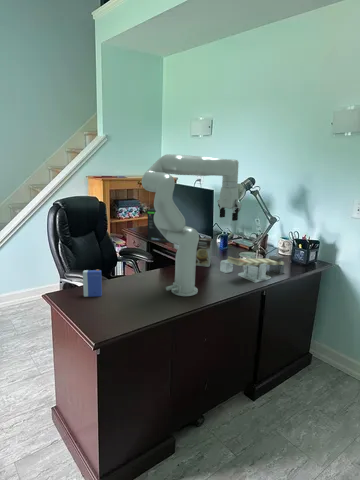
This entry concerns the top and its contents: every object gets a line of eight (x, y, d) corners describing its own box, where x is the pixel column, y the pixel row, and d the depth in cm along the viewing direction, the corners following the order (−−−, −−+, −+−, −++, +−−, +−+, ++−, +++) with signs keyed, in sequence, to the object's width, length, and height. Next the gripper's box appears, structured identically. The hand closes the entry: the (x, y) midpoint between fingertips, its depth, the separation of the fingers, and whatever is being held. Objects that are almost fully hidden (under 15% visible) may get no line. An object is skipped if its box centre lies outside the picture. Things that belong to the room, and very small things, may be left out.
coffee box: (194, 265, 201) (195, 239, 198) (196, 262, 207) (197, 236, 204) (209, 267, 199) (210, 240, 195) (210, 264, 205) (212, 238, 202)
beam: (237, 267, 170) (239, 258, 169) (226, 262, 176) (228, 254, 176) (283, 266, 191) (285, 258, 190) (272, 262, 197) (273, 255, 196)
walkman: (102, 294, 156) (101, 269, 153) (101, 296, 153) (100, 271, 150) (84, 294, 155) (83, 269, 152) (83, 296, 152) (82, 271, 149)
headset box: (146, 240, 258) (147, 207, 252) (152, 237, 269) (153, 205, 263) (175, 243, 252) (175, 209, 246) (179, 240, 263) (180, 207, 257)
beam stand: (255, 282, 176) (256, 266, 174) (237, 275, 187) (238, 259, 184) (287, 274, 190) (288, 259, 188) (269, 268, 201) (270, 253, 198)
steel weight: (225, 273, 190) (226, 263, 188) (219, 270, 194) (220, 260, 192) (232, 271, 192) (233, 261, 191) (226, 269, 196) (227, 259, 195)
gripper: (213, 183, 172) (212, 216, 177) (235, 187, 158) (234, 222, 163) (224, 183, 176) (223, 215, 181) (247, 186, 162) (245, 221, 167)
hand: (228, 218), depth 172 cm, fingers open, 9 cm apart
